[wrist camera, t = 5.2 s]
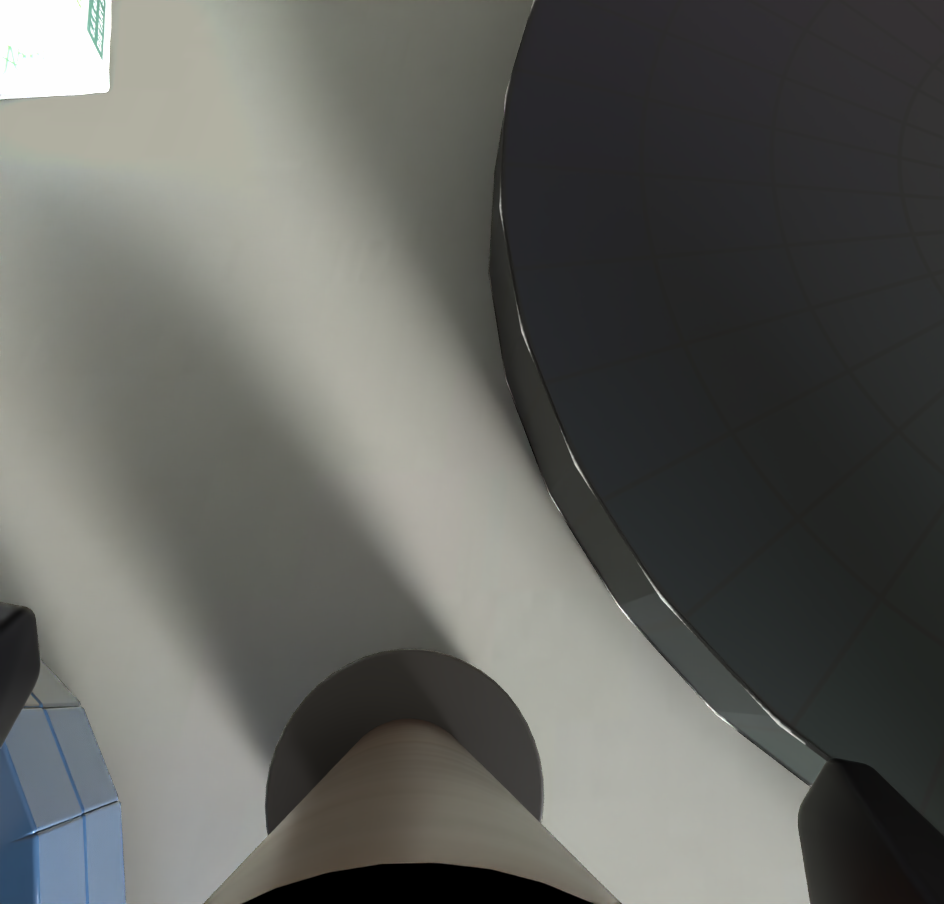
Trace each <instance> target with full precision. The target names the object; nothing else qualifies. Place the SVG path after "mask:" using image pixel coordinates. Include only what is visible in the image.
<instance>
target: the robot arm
mask: <svg viewBox="0 0 944 904" xmlns="http://www.w3.org/2000/svg"><path fill="white" fill-rule="evenodd" d="M39 673H40V653H39V643H38V634H37V625H36V618H35V614H34V613H33V611H32V610H31V609H29V608H27V607H25V606H19V605H14V604H9V603H3V602H0V748H1V747H2V745H3V743H4V741H5V739H6V738H7V736H8V734H9V732H10V730H11V729H12V727H13V725H14V723H15V721H16V720H17V718H18V716H19V714H20V712H21V711H22V709H23V707H24V705H25V703H26V702H27V700H28V698H29V696H30V694H31V693H32V691H33V689H34V687H35V685H36V682H37V680H38V677H39ZM798 829H799V836H800V842H801V848H802V855H803V861H804V867H805V873H806V879H807V885H808V892H809V898H810V904H944V836H943V835H942V834H941V833H940V832H939V831H938V830H937V829H936V828H935V827H934V826H933V825H932V824H931V823H930V822H929V821H928V820H927V819H926V818H925V817H924V816H923V815H922V814H921V813H919V812H918V811H917V810H916V809H915V808H914V807H913V806H912V805H911V804H910V803H909V802H908V801H907V800H906V799H905V798H904V797H903V796H902V795H901V794H900V793H899V792H898V791H897V790H896V789H895V788H894V787H893V786H892V785H891V784H890V783H889V782H888V781H887V780H885V779H884V778H883V777H882V776H881V775H880V774H879V773H878V772H877V771H876V770H875V769H874V768H873V767H871V766H869V765H867V764H864V763H860V762H855V761H850V760H844V759H839V758H832V759H830V760H829V761H827V762H826V763H825V764H824V765H823V767H822V769H821V770H820V772H819V774H818V776H817V777H816V779H815V781H814V783H813V784H812V786H811V788H810V789H809V791H808V793H807V795H806V796H805V798H804V800H803V802H802V804H801V806H800V810H799V814H798Z"/></svg>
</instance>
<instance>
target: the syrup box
mask: <svg viewBox="0 0 944 904" xmlns="http://www.w3.org/2000/svg"><path fill="white" fill-rule="evenodd" d="M110 36H111V0H0V99H13V98H31V97H46V96H60V95H78V94H89V93H105V92H107V91H108V90H109V88H110V80H109V59H110Z"/></svg>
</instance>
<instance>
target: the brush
mask: <svg viewBox="0 0 944 904" xmlns="http://www.w3.org/2000/svg"><path fill="white" fill-rule="evenodd" d="M543 804H544V785H543V774H542V768H541V762H540V757H539V754H538V750H537V747H536V743H535V740H534V738H533V736H532V733H531V731H530V729H529V726H528V724H527V722H526V720H525V719H524V717H523V715H522V714H521V712H520V710H519V708H518V707H517V706H516V704H515V703H514V702H513V701H512V699H511V698H510V697H509V695H508V694H507V693H506V692H505V691H504V690H503V689H502V688H501V687H500V686H499V685H498V684H497V683H496V682H495V681H494V680H493V679H491V678H490V677H489V676H487V675H486V674H485V673H484V672H482V671H481V670H479V669H477V668H476V667H474V666H472V665H471V664H469V663H467V662H465V661H463V660H460V659H458V658H455V657H453V656H451V655H447V654H443V653H439V652H435V651H430V650H421V649H397V650H390V651H384V652H379V653H376V654H372V655H369V656H365V657H363V658H361V659H358V660H356V661H354V662H352V663H349V664H347V665H346V666H344V667H342V668H341V669H339V670H337V671H336V672H334V673H333V674H331V675H330V676H329V677H327V678H326V679H325V680H324V681H322V682H321V683H320V684H319V685H318V686H317V687H316V688H315V689H314V690H313V691H312V692H311V693H310V694H309V695H308V696H307V697H306V698H305V699H304V700H303V701H302V703H301V704H300V705H299V707H298V708H297V709H296V711H295V712H294V713H293V715H292V716H291V718H290V720H289V722H288V723H287V725H286V727H285V728H284V730H283V732H282V734H281V737H280V739H279V741H278V743H277V746H276V748H275V751H274V755H273V758H272V761H271V764H270V768H269V774H268V779H267V785H266V799H265V813H266V827H267V832H268V836H267V837H266V839H265V840H264V841H263V842H262V843H261V844H260V845H259V846H258V847H257V848H256V849H255V850H254V851H253V852H252V853H251V854H250V855H249V856H248V857H247V858H246V860H245V861H244V862H243V863H242V864H241V865H240V866H239V867H238V868H237V869H236V870H235V871H234V872H233V873H232V874H231V875H230V876H229V877H228V878H227V879H226V880H225V882H224V883H223V884H222V885H221V886H220V887H219V888H218V889H217V890H216V891H215V892H214V893H213V894H212V895H211V896H210V897H209V898H208V899H207V900H206V901H205V903H204V904H621V903H620V902H619V901H618V900H617V899H616V898H615V897H614V896H613V895H612V894H611V893H610V892H609V891H608V890H607V889H606V888H605V887H604V886H603V885H602V884H601V883H600V882H599V881H598V880H597V879H596V878H595V877H594V876H593V875H592V874H591V873H590V872H589V871H588V870H587V869H586V868H585V867H584V866H583V865H582V864H581V863H580V862H579V861H578V860H577V859H576V858H575V857H574V856H573V855H572V854H571V853H570V852H569V851H568V850H567V849H566V848H565V847H564V846H563V845H562V844H561V843H560V842H559V841H558V840H557V839H556V838H555V837H554V836H553V835H552V834H551V833H550V832H549V831H548V830H547V829H546V828H545V827H544V826H543V825H542V824H541V822H542V817H543Z"/></svg>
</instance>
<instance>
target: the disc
mask: <svg viewBox="0 0 944 904" xmlns="http://www.w3.org/2000/svg"><path fill="white" fill-rule="evenodd" d="M489 278H490V285H491V291H492V297H493V303H494V310H495V316H496V322H497V328H498V334H499V341H500V347H501V353H502V359H503V365H504V372H505V378H506V383H507V385H508V388H509V391H510V393H511V396H512V399H513V401H514V404H515V406H516V409H517V412H518V414H519V417H520V420H521V422H522V425H523V427H524V430H525V433H526V435H527V438H528V441H529V443H530V446H531V448H532V451H533V454H534V456H535V459H536V462H537V464H538V467H539V469H540V472H541V475H542V477H543V480H544V483H545V485H546V488H547V491H548V493H549V496H550V497H551V499H552V501H553V502H554V504H555V505H556V507H557V509H558V510H559V512H560V514H561V515H562V517H563V518H564V520H565V522H566V523H567V525H568V526H569V528H570V530H571V531H572V533H573V535H574V536H575V538H576V539H577V541H578V543H579V544H580V546H581V547H582V549H583V551H584V552H585V554H586V556H587V557H588V559H589V560H590V562H591V564H592V565H593V567H594V568H595V570H596V572H597V573H598V575H599V576H600V578H601V580H602V581H603V583H604V585H605V586H606V588H607V589H608V591H609V593H610V594H611V596H612V597H613V599H614V601H615V602H616V604H617V606H618V607H619V609H620V610H621V611H622V612H623V613H624V614H625V615H626V617H627V618H628V619H629V620H630V621H631V622H632V623H633V624H634V625H635V626H636V628H637V629H638V630H639V631H640V632H641V633H642V634H643V635H644V636H645V637H646V639H647V640H648V641H649V642H650V643H651V644H652V645H653V646H654V647H655V649H656V650H657V651H658V652H659V653H660V654H661V655H662V656H663V657H664V658H665V660H666V661H667V662H668V663H669V664H670V665H671V666H672V667H673V668H674V669H675V671H676V672H677V673H678V674H679V675H680V676H681V677H682V678H683V679H684V680H685V682H686V683H687V684H688V685H689V686H690V687H691V688H692V689H693V690H694V691H695V693H696V694H697V695H698V696H699V697H700V698H701V699H702V700H703V701H704V702H705V704H706V705H707V706H708V707H709V708H710V709H711V710H712V711H713V712H714V713H715V714H716V715H717V716H718V717H719V718H721V719H722V720H723V721H725V722H726V723H727V724H729V725H730V726H731V727H733V728H734V729H735V730H736V731H738V732H739V733H740V734H742V735H743V736H744V737H746V738H747V739H748V740H750V741H751V742H752V743H753V744H755V745H756V746H757V747H759V748H760V749H761V750H763V751H764V752H765V753H766V754H768V755H769V756H770V757H772V758H773V759H774V760H776V761H777V762H778V763H780V764H781V765H782V766H783V767H785V768H786V769H787V770H789V771H790V772H791V773H793V774H794V775H795V776H797V777H798V778H799V779H800V780H802V781H803V782H804V783H806V784H807V785H808V786H810V787H811V786H812V784H813V783H814V781H815V779H816V777H817V776H818V774H819V772H820V770H821V769H822V767H823V765H824V764H825V763H826V762H827V761H829V760H830V759H832V758H839V759H844V760H850V761H855V762H860V763H864V764H867V765H869V766H871V767H873V768H874V769H875V770H876V771H877V772H878V773H879V774H880V775H881V776H882V777H883V778H884V779H885V780H887V781H888V782H889V783H890V784H891V785H892V786H893V787H894V788H895V789H896V790H897V791H898V792H899V793H900V794H901V795H902V796H903V797H904V798H905V799H906V800H907V801H908V802H909V803H910V804H911V805H912V806H913V807H914V808H915V809H916V810H917V811H918V812H919V813H921V814H922V815H923V816H924V817H925V818H926V819H927V820H928V821H929V822H930V823H931V824H932V825H933V826H934V827H935V828H936V829H937V830H938V831H939V832H940V833H941V834H942V835H943V836H944V0H533V4H532V7H531V10H530V14H529V17H528V20H527V24H526V27H525V30H524V34H523V37H522V40H521V43H520V47H519V50H518V53H517V57H516V60H515V63H514V67H513V70H512V73H511V77H510V80H509V83H508V87H507V90H506V93H505V105H504V117H503V123H502V129H501V135H500V142H499V148H498V154H497V160H496V166H495V173H494V190H493V207H492V223H491V240H490V256H489Z"/></svg>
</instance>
